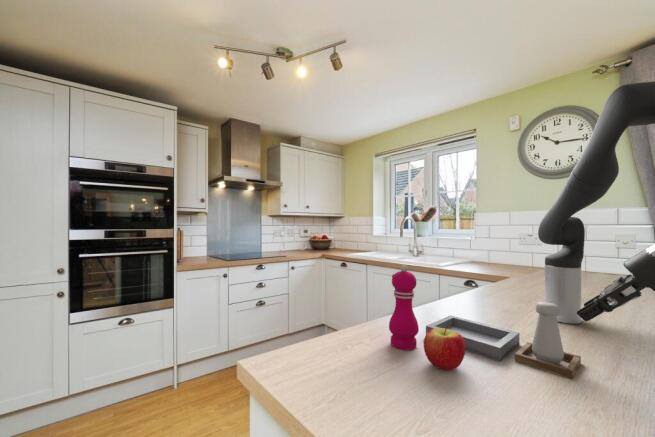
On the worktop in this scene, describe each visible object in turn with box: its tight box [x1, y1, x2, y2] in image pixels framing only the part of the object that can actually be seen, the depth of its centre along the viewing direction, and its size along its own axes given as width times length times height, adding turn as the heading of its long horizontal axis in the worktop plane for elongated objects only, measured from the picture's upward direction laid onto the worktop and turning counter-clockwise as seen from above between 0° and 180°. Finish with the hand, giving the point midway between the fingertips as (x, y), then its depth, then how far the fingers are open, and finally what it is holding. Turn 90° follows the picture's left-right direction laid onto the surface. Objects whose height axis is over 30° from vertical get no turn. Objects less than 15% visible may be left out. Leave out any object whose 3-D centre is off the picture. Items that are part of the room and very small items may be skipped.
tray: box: [425, 315, 520, 362], centre depth 76 cm, size 14×18×3 cm
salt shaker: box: [531, 301, 565, 365], centre depth 65 cm, size 6×6×13 cm
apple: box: [423, 322, 466, 371], centre depth 62 cm, size 8×8×10 cm
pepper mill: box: [388, 264, 420, 351], centre depth 73 cm, size 7×7×20 cm
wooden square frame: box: [514, 341, 582, 379], centre depth 65 cm, size 10×10×2 cm
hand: (584, 312), depth 61 cm, fingers open, 8 cm apart
